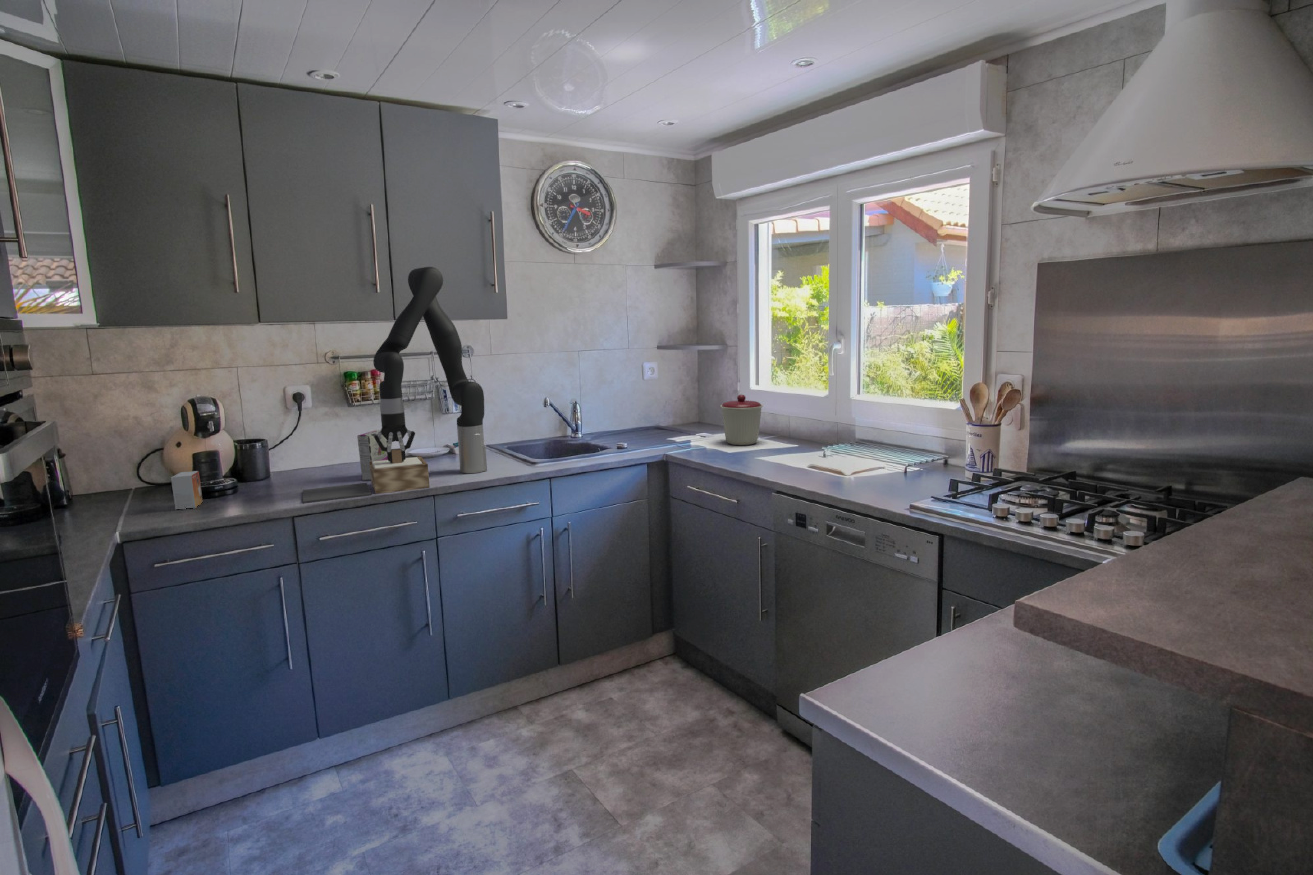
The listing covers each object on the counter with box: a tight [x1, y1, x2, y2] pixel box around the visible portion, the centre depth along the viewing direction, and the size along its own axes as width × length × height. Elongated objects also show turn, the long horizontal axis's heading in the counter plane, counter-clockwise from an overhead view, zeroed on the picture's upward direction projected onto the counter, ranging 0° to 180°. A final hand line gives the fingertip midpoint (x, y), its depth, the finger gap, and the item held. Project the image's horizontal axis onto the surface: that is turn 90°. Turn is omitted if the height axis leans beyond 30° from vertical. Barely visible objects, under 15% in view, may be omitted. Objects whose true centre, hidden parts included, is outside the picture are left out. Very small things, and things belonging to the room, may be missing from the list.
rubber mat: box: [302, 482, 372, 504], centre depth 240 cm, size 20×18×1 cm
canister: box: [719, 394, 764, 446], centre depth 311 cm, size 18×18×21 cm
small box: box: [170, 470, 204, 510], centre depth 227 cm, size 8×6×10 cm
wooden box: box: [370, 456, 431, 495], centre depth 248 cm, size 17×16×8 cm
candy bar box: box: [356, 429, 388, 481], centre depth 263 cm, size 11×5×16 cm, turn 168°
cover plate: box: [372, 447, 422, 469], centre depth 247 cm, size 15×13×6 cm
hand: (396, 461), depth 247 cm, fingers closed on cover plate, 3 cm apart
